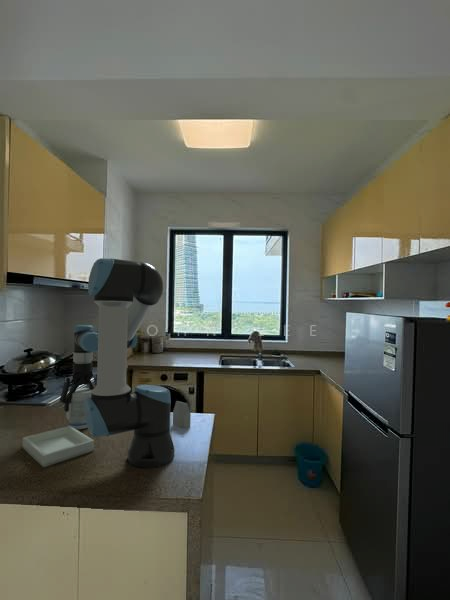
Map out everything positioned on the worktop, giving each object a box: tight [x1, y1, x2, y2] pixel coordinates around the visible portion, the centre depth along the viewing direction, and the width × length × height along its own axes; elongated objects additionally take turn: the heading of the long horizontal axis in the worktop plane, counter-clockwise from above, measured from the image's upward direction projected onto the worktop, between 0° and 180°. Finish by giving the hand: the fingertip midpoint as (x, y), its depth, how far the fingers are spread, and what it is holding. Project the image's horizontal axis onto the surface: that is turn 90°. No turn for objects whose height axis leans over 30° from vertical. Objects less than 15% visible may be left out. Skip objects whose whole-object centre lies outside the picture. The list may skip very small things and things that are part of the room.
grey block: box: [172, 400, 192, 430], centre depth 133 cm, size 4×7×10 cm, turn 54°
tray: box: [22, 425, 95, 468], centre depth 110 cm, size 20×16×4 cm
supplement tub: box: [67, 387, 93, 430], centre depth 132 cm, size 10×10×15 cm
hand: (81, 416), depth 132 cm, fingers closed on supplement tub, 9 cm apart
